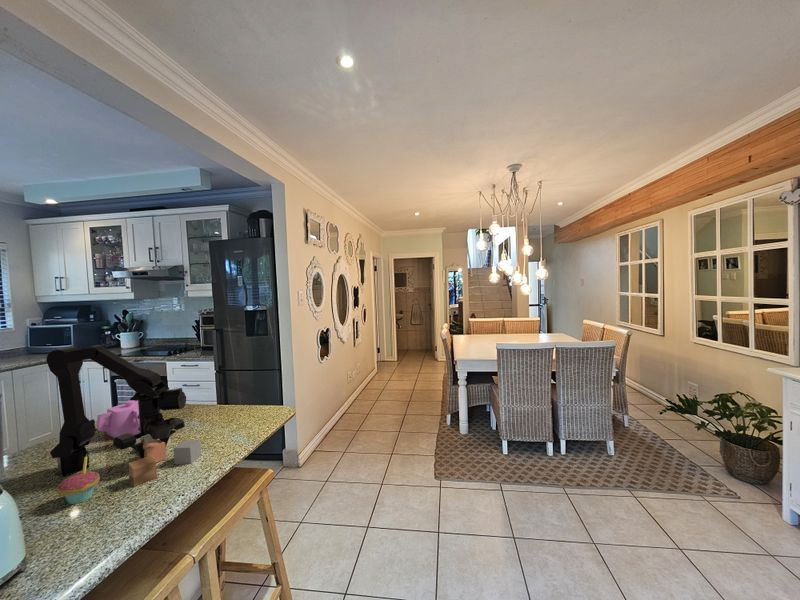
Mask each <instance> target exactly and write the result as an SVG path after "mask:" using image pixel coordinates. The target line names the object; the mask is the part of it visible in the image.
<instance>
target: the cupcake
mask: <svg viewBox="0 0 800 600" xmlns="http://www.w3.org/2000/svg"><path fill="white" fill-rule="evenodd" d="M87 458H88V457H87V454H86V457H84V465H83V470H80V471H78V472H75V473H73V474H71V475H70V476H68V477H67V478H65V479H63V480H62V481H61V482H60V483H59V484H58V486H57V489H56V493H57V494H58V495H61V496H64V498H65V499H66V501H67V503H68V504H70V505H75V504H80V503H83V502H85V501H87V500H88V499H90V498H91V497H92V496H93V495H94V494H93V493H94V490H95V487H96V485H97V484H98V483H99V482H100V480H101V477H100V474H99V472H96V471H94V470H87V468H86V466H87Z"/></svg>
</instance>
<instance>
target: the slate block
mask: <svg viewBox="0 0 800 600" xmlns="http://www.w3.org/2000/svg"><path fill="white" fill-rule="evenodd" d="M201 448H202V447H201V439H188V440H187V439H185V440H182V441H181V442H180V443H178V444H177V445H176V446H175V447H173V448H172V449H173V459H174V460H173V463H174V465H188V464H189V465H192V464H193V463H195V461H197V460H198V459H199V458H200V457H202V449H201Z"/></svg>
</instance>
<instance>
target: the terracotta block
mask: <svg viewBox="0 0 800 600" xmlns="http://www.w3.org/2000/svg"><path fill="white" fill-rule="evenodd" d="M166 448H167V447H166V446H165V442H163V441H160V440H158V439H157V440H154V441H151V442H148V443H145V444H143V452H144V458H145V457H148V456H151V457H152V458H153V459H154V460H155V461H156V464H157V463H159V462H161V461H163V460H165V459H167V451H166V450H167V449H166ZM139 459H140V458H139V457H138V460H139Z"/></svg>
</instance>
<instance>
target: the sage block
mask: <svg viewBox="0 0 800 600" xmlns="http://www.w3.org/2000/svg"><path fill="white" fill-rule="evenodd" d="M158 440H159V439H158ZM171 440H172V439H171V437H170V438H169V440H168V442H167V445H166V446H167V447H169V446H170V445H172V441H171ZM151 441H154V439H152V437H151V436H147V437H144V440H143V443H144V444H145V443H148V442H151Z"/></svg>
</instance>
